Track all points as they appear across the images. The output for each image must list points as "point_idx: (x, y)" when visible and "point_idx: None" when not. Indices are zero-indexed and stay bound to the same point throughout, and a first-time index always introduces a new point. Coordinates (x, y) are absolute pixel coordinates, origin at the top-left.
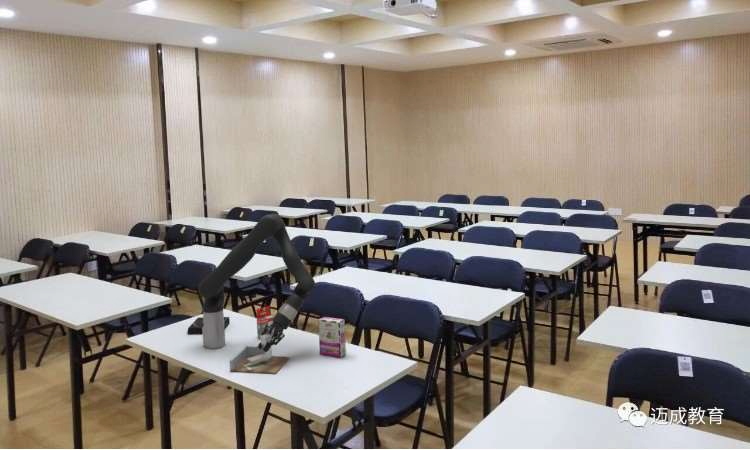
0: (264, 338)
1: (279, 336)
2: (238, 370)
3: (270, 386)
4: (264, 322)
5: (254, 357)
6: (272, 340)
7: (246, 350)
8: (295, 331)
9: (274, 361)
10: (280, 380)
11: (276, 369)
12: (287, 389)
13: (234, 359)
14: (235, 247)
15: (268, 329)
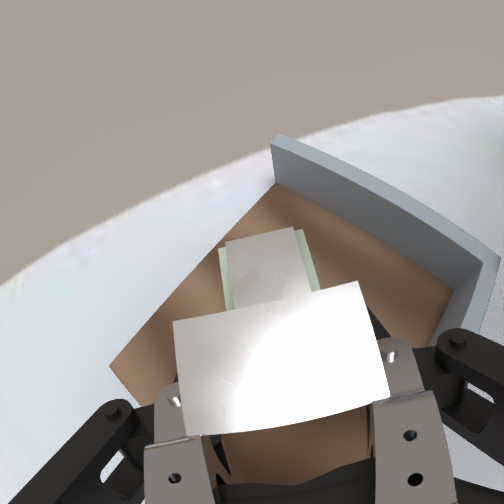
0: (194, 320)
1: (41, 497)
2: (256, 203)
3: (47, 293)
4: None
5: (284, 278)
6: (113, 419)
7: (462, 264)
8: None
9: (272, 434)
10: (57, 351)
11: (138, 388)
12: (8, 332)
13: (297, 159)
14: None
15: (451, 486)
